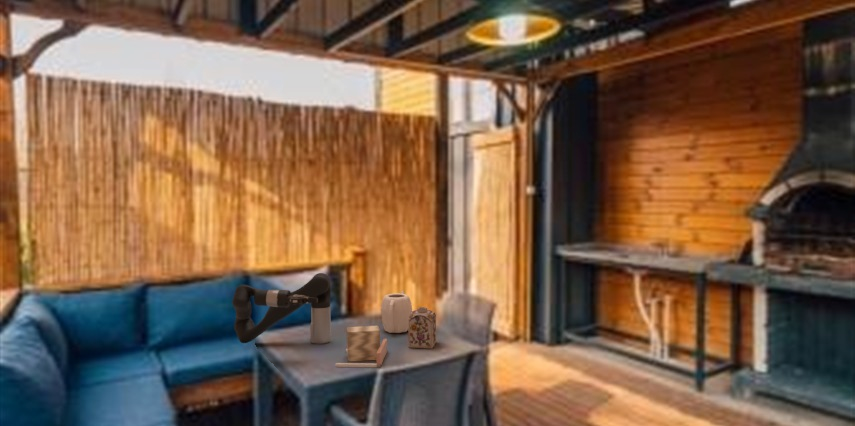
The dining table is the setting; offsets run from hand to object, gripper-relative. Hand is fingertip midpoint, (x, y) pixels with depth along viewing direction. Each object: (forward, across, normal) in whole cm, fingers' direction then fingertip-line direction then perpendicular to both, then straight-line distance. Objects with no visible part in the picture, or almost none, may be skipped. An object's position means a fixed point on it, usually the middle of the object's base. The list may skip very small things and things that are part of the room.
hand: (317, 300), depth 271 cm
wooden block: (+21, -4, -25) cm, 33 cm away
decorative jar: (+46, -24, -22) cm, 57 cm away
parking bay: (+21, -2, -25) cm, 33 cm away
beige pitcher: (+31, -52, -21) cm, 64 cm away
